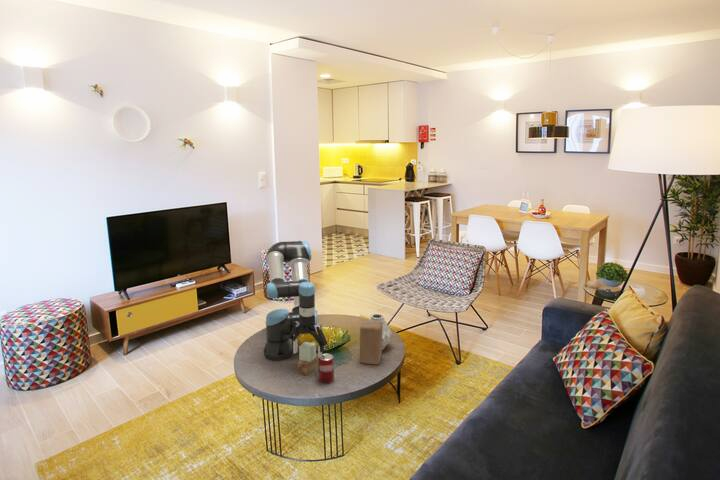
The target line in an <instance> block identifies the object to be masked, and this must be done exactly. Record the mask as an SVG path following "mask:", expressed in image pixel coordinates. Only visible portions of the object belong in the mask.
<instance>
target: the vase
mask: <svg viewBox="0 0 720 480" xmlns="http://www.w3.org/2000/svg"><path fill="white" fill-rule="evenodd" d="M368 320H372V321H381V322H382V351H384V349H385V348H386V346H387V345H388V343H389V342H390V339H391V337H392V336H393V333H392V330H391V328H389V326H388V323H387V321H386V320H385V318H384V315H382V314H380V313H375V314H374V313H373V314H371V316H370V317H369V319H368Z"/></svg>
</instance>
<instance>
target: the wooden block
mask: <svg viewBox="0 0 720 480" xmlns="http://www.w3.org/2000/svg"><path fill="white" fill-rule="evenodd" d="M382 353H383V350H382V322H381V321H372V320H369V319H364V320H362V323H361V325H360V327H359V363H361V364H367V365H374V366H375V365H377V366H378V365H380V362H381V358H382V356H383V355H382Z"/></svg>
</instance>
